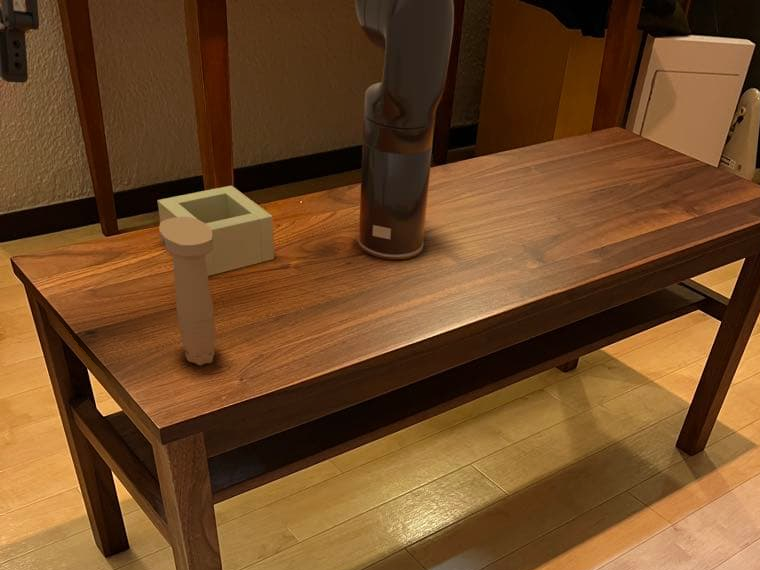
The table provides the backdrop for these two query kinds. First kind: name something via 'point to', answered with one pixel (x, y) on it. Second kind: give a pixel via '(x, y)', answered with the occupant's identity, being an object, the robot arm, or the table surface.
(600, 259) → the table surface
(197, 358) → the handle
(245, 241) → the frame
